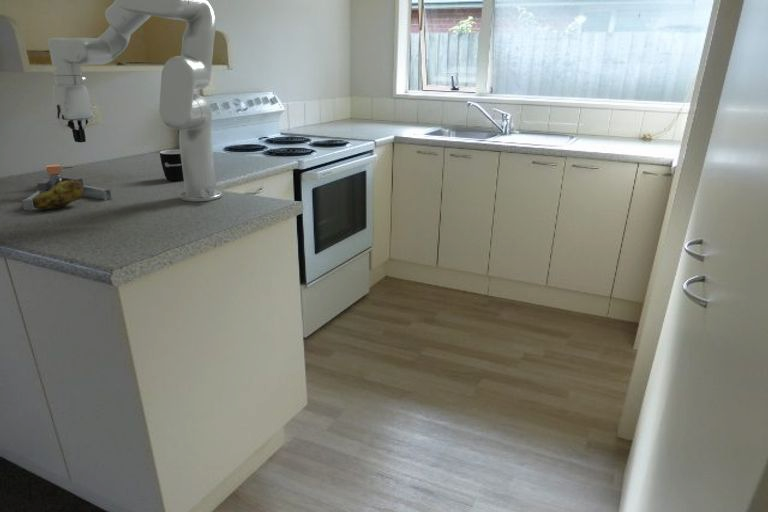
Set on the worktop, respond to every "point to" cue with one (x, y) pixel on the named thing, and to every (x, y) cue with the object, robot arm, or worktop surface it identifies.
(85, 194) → the tongs jaw
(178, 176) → the mug
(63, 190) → the potato
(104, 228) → the worktop surface
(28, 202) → the tongs fixed
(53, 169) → the tab
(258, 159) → the worktop surface
